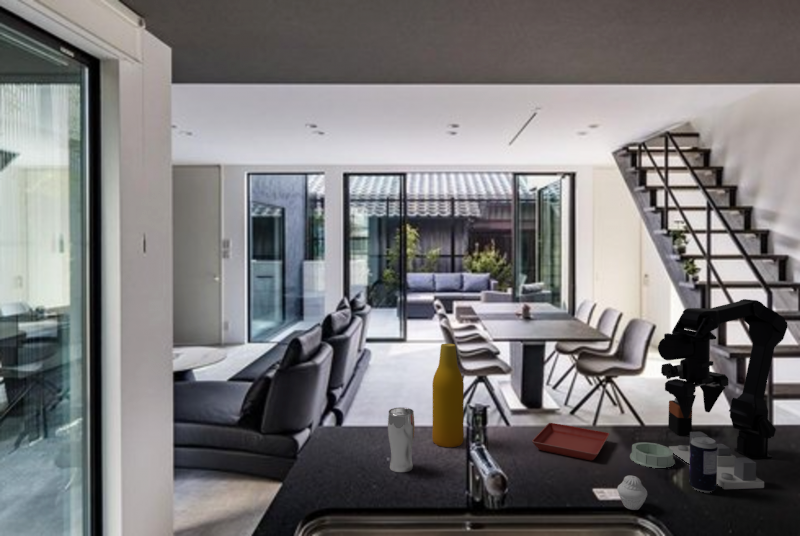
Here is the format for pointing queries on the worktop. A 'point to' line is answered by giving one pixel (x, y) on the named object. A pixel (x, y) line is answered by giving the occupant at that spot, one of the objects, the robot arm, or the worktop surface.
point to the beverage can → (703, 464)
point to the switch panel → (727, 468)
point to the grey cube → (723, 450)
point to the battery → (678, 419)
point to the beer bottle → (448, 400)
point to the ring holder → (652, 455)
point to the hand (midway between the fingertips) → (696, 415)
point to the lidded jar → (632, 492)
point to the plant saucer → (570, 441)
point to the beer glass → (401, 438)
